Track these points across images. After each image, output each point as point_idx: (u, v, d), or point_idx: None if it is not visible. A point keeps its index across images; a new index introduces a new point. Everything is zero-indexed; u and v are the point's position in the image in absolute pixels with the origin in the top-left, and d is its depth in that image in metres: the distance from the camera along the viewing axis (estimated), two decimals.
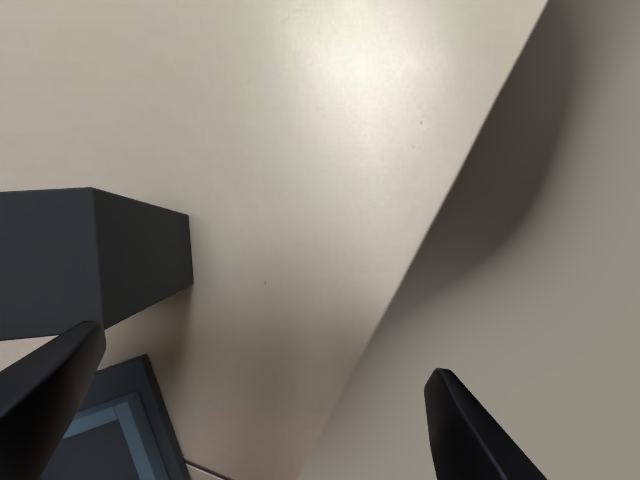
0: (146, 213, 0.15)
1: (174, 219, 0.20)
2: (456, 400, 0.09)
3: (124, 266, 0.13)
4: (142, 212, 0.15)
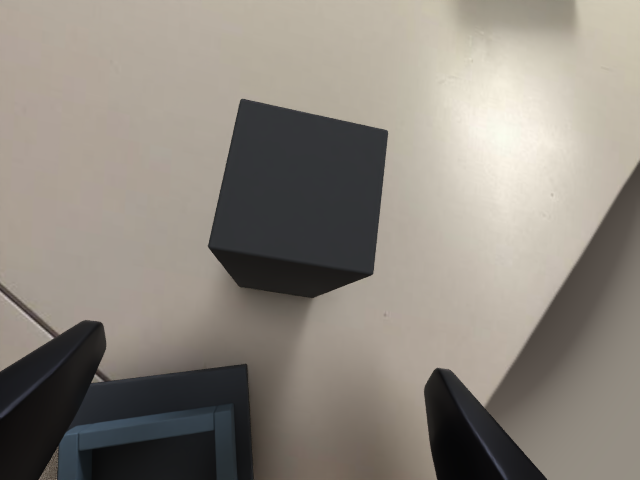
0: None
1: None
2: (456, 400, 0.09)
3: None
4: None
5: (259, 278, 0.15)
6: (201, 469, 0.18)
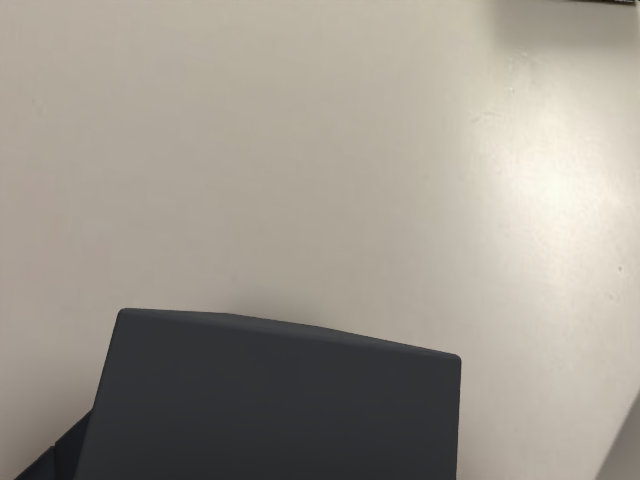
0: None
1: None
2: None
3: None
4: None
5: None
6: None
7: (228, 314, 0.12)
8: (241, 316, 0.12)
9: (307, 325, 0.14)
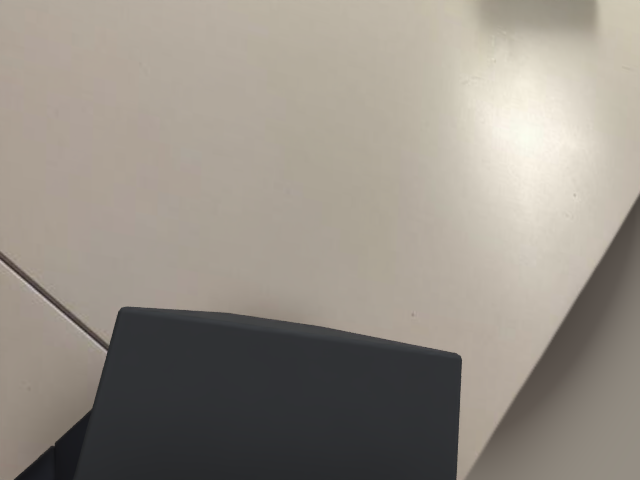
0: None
1: None
2: None
3: None
4: None
5: None
6: None
7: None
8: None
9: None
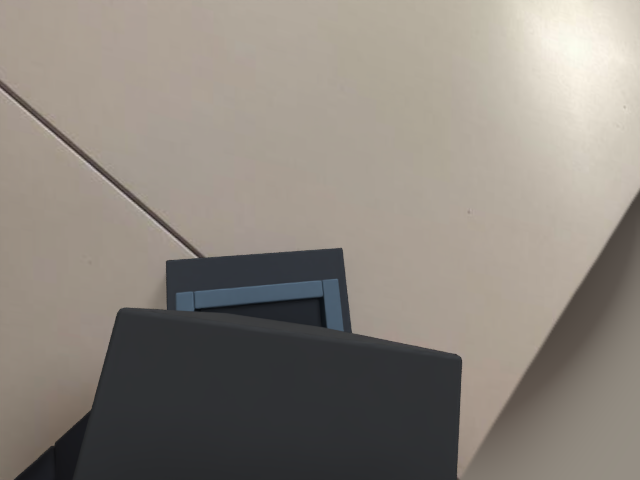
0: None
1: None
2: None
3: None
4: None
5: None
6: None
7: (228, 314, 0.12)
8: (241, 316, 0.12)
9: (307, 325, 0.14)
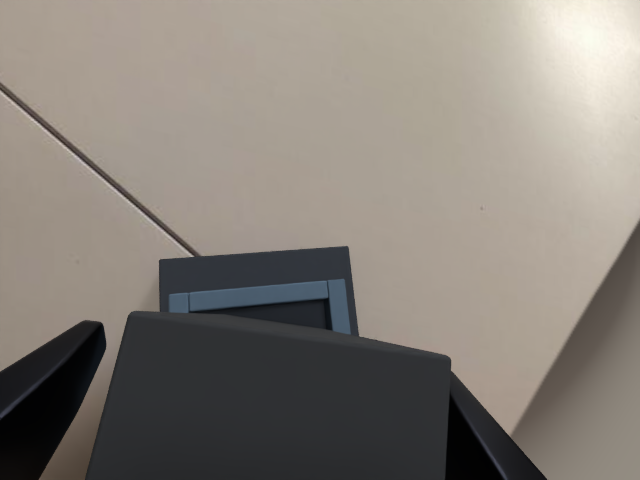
0: None
1: None
2: (456, 400, 0.09)
3: None
4: None
5: None
6: None
7: None
8: None
9: None
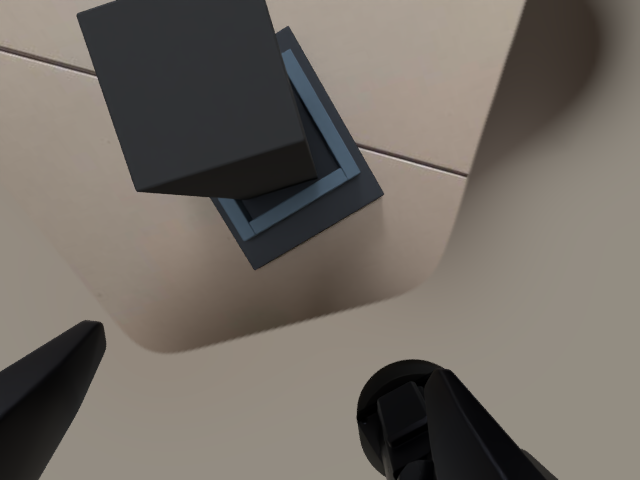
0: None
1: None
2: (456, 400, 0.09)
3: None
4: None
5: (238, 188, 0.14)
6: None
7: None
8: None
9: None
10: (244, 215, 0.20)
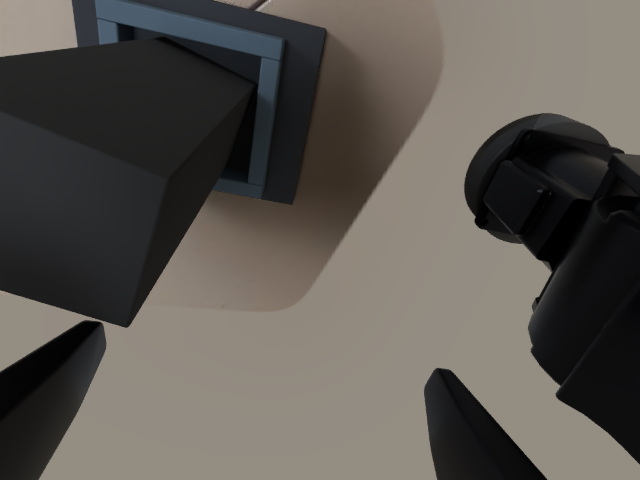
0: (80, 57, 0.10)
1: (144, 46, 0.13)
2: (456, 400, 0.09)
3: (114, 114, 0.08)
4: (70, 58, 0.09)
5: (201, 195, 0.13)
6: None
7: None
8: None
9: None
10: (238, 180, 0.18)
